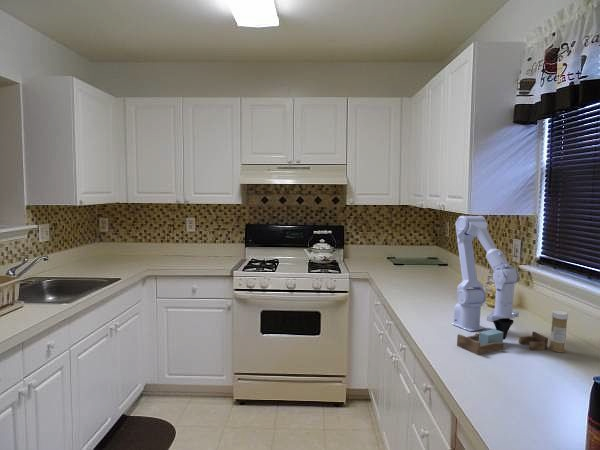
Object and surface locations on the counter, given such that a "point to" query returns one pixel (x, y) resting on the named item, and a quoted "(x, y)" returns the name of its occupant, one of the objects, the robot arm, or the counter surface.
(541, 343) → the brown stepped block
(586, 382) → the counter surface
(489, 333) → the pale teal block
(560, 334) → the sprinkles bottle
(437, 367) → the counter surface
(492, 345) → the endcap rail
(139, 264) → the counter surface
